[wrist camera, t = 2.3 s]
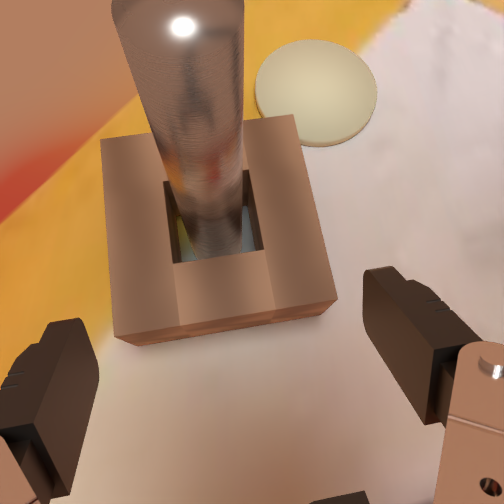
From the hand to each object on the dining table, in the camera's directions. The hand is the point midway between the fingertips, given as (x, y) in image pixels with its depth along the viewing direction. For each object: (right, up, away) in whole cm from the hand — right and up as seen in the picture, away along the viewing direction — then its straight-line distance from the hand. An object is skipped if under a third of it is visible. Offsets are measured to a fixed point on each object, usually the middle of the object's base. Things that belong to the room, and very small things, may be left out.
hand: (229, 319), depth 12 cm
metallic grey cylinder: (-2, +3, +22) cm, 22 cm away
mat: (+6, +16, +26) cm, 32 cm away
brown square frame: (-2, +3, +22) cm, 22 cm away
